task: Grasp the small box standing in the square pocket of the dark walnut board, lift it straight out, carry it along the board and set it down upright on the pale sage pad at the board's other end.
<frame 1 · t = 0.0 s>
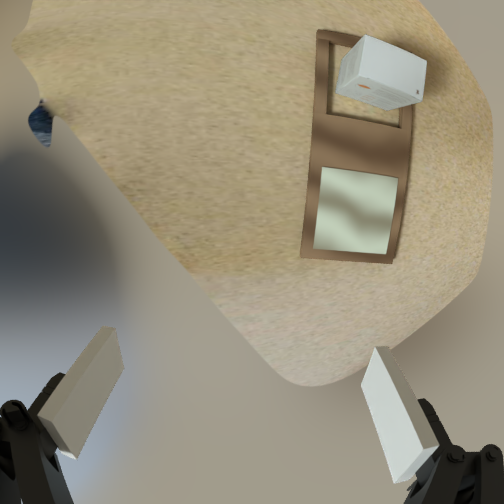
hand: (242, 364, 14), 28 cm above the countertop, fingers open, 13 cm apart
board: (361, 146, 36), on the countertop
small box: (364, 85, 33), resting in board
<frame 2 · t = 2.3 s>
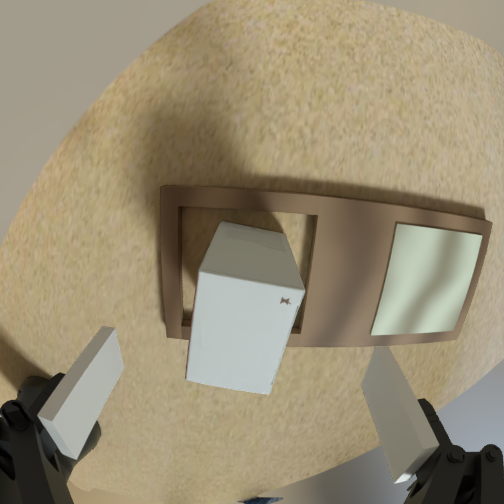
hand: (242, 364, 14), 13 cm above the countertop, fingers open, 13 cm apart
board: (344, 276, 26), on the countertop
small box: (244, 269, 26), resting in board
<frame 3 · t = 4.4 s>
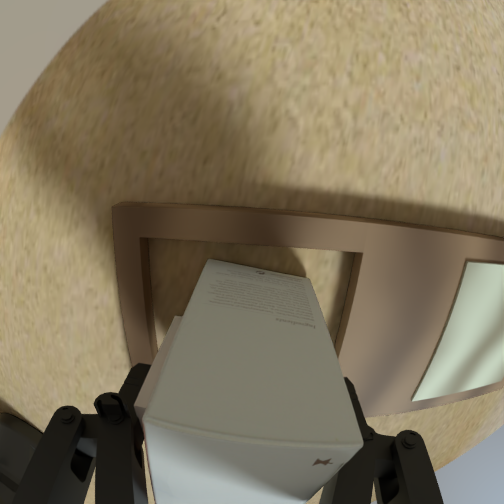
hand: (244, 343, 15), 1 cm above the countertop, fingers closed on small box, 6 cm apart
board: (388, 332, 17), on the countertop
small box: (245, 326, 17), resting in board, touching gripper
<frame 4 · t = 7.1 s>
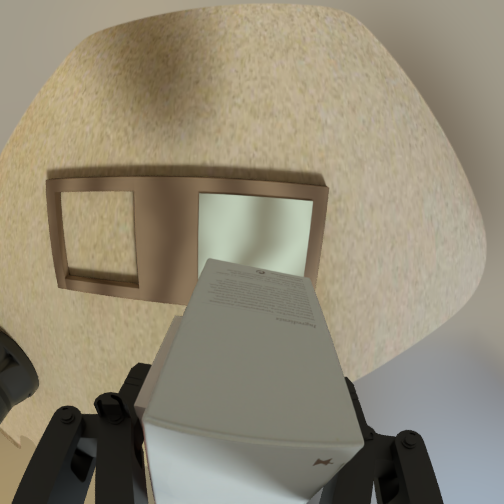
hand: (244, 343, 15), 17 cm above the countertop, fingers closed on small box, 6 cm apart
board: (169, 241, 31), on the countertop
small box: (246, 326, 17), point 15 cm above the countertop, touching gripper
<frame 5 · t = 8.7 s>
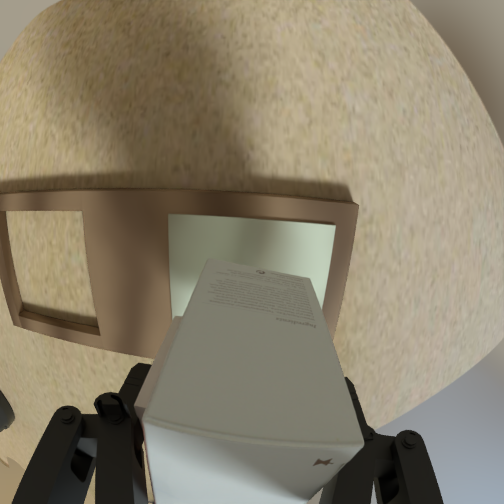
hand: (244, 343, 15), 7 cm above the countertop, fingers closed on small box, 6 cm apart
board: (133, 277, 22), on the countertop
small box: (246, 326, 17), point 5 cm above the countertop, touching gripper
when the fingers open (4 cm above the countertop, at t = 10.1 s): small box moves 1 cm, resting on board.
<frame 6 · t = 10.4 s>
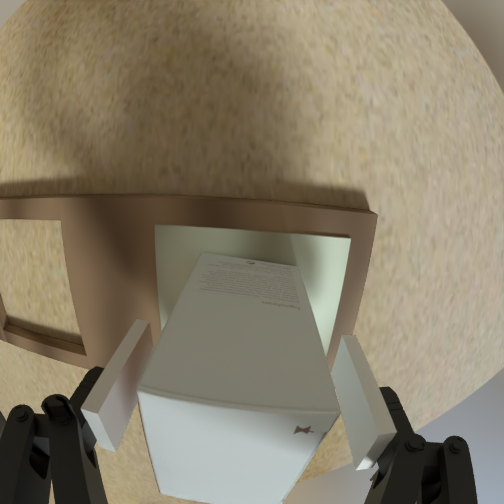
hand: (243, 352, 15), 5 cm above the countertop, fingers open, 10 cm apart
board: (119, 294, 19), on the countertop
small box: (241, 316, 18), point 1 cm above the countertop, touching board
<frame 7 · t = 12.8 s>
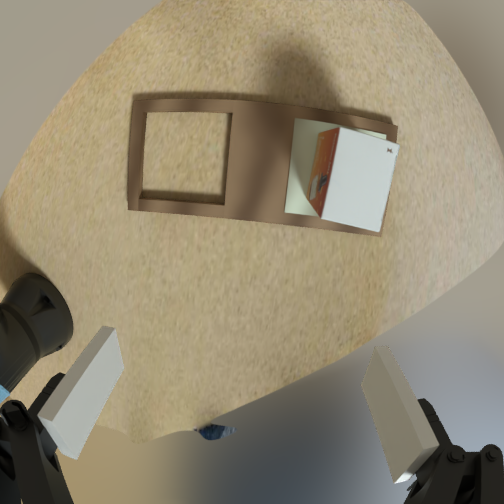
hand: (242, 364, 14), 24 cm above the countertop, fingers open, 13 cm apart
board: (259, 161, 34), on the countertop
small box: (334, 170, 32), point 1 cm above the countertop, touching board
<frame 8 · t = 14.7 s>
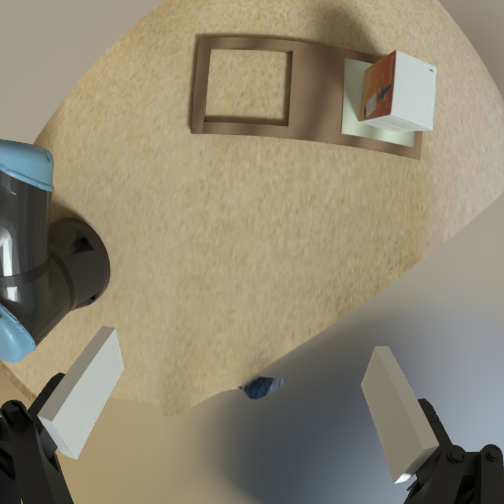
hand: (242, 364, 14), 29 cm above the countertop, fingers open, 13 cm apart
board: (316, 91, 35), on the countertop
small box: (379, 101, 33), point 1 cm above the countertop, touching board
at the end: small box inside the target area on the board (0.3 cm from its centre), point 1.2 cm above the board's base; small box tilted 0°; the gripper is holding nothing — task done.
